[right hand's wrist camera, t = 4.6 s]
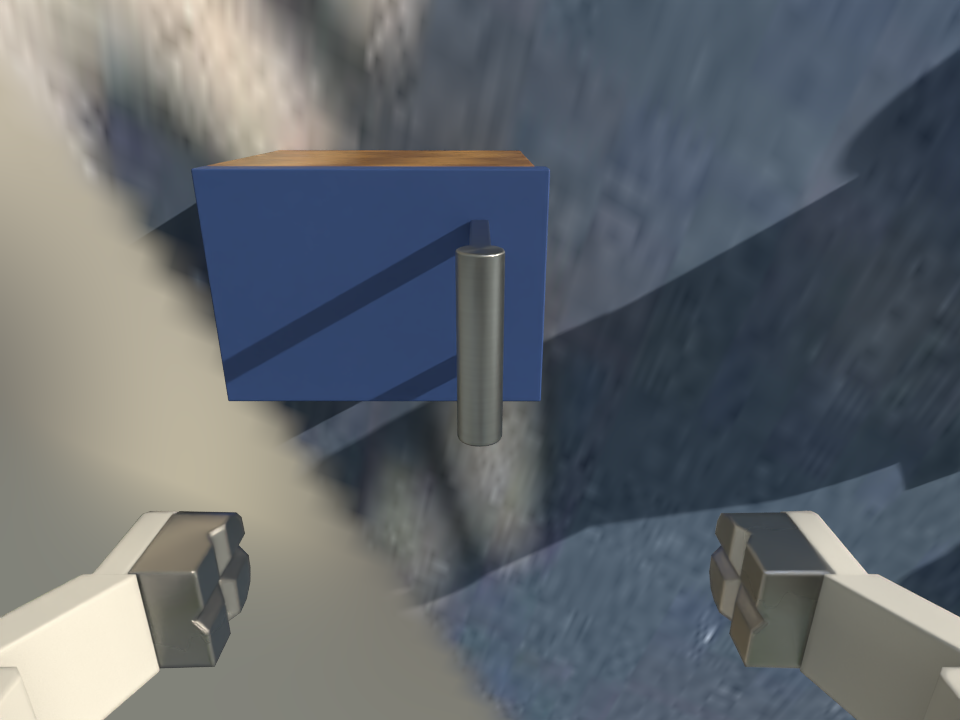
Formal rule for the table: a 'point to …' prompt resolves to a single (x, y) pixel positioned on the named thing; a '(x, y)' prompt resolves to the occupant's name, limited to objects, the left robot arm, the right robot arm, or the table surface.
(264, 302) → the lid
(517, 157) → the chest
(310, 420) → the table surface
